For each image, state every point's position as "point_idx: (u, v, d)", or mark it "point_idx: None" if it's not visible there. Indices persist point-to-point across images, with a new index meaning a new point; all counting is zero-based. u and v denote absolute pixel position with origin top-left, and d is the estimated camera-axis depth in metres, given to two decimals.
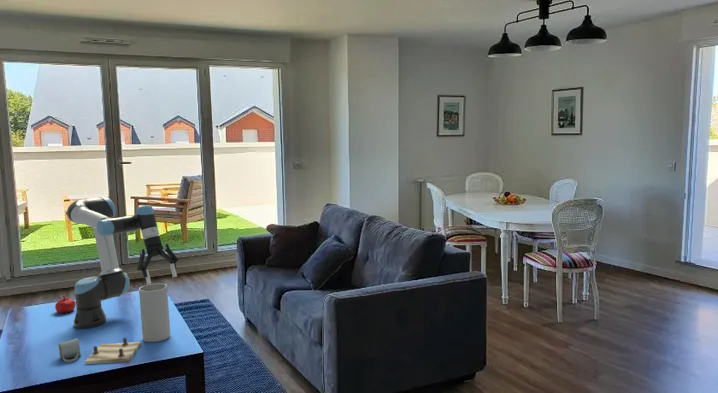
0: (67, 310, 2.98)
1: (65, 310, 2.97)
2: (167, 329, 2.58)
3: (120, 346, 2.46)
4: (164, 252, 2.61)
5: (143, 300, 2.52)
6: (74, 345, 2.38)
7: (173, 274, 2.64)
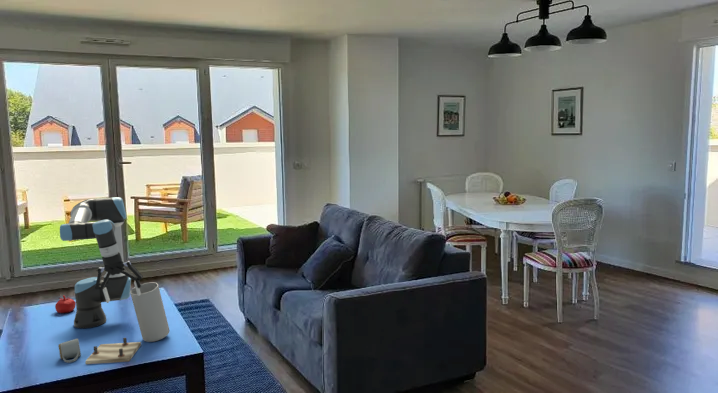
0: (67, 310, 2.98)
1: (65, 310, 2.97)
2: (165, 327, 2.57)
3: (120, 346, 2.46)
4: (123, 271, 2.41)
5: (136, 303, 2.49)
6: (74, 346, 2.38)
7: None
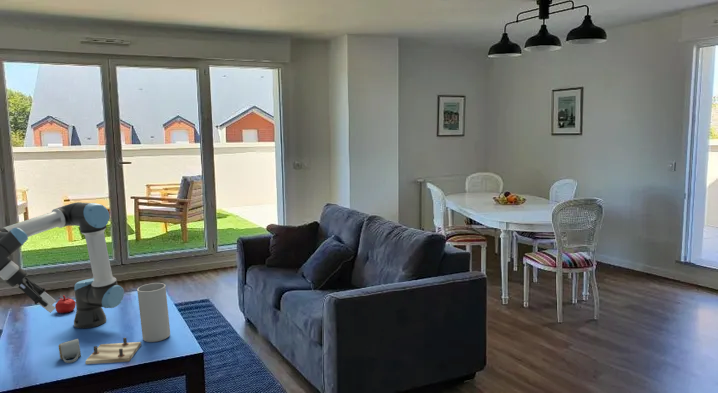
0: (67, 310, 2.98)
1: (65, 310, 2.97)
2: (167, 328, 2.58)
3: (120, 346, 2.46)
4: None
5: (142, 301, 2.52)
6: (74, 346, 2.37)
7: None
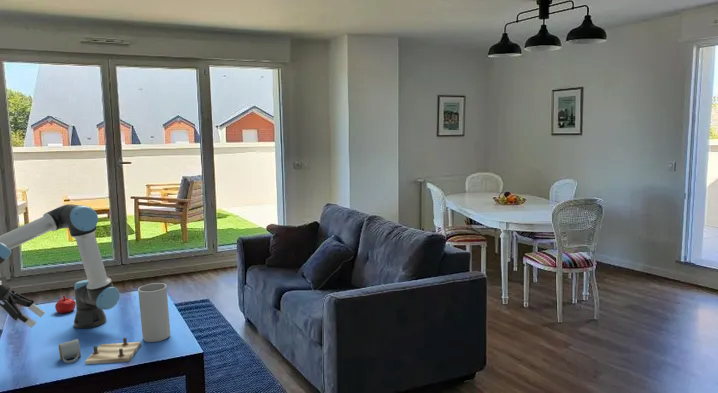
0: (67, 310, 2.98)
1: (65, 310, 2.97)
2: (167, 329, 2.58)
3: (120, 346, 2.46)
4: None
5: (143, 300, 2.52)
6: (74, 346, 2.37)
7: None
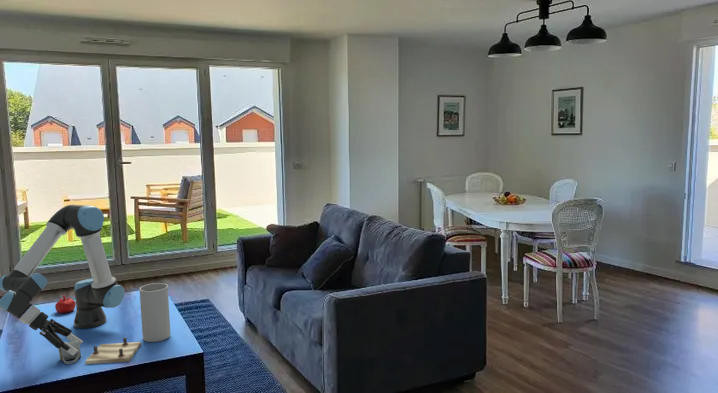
0: (67, 310, 2.98)
1: (65, 310, 2.97)
2: (168, 329, 2.59)
3: (120, 346, 2.46)
4: None
5: (144, 300, 2.52)
6: (74, 347, 2.36)
7: None
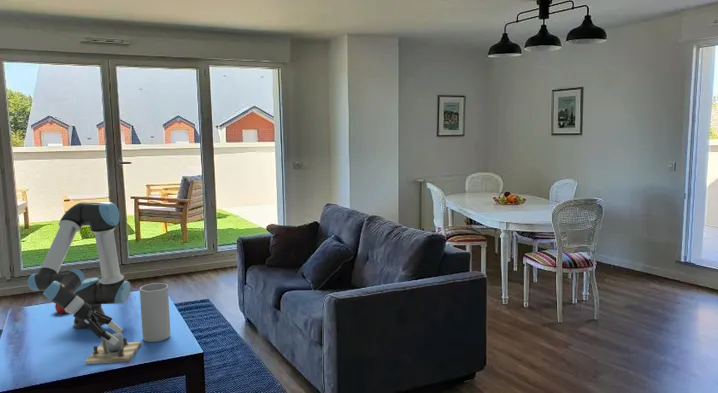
0: None
1: None
2: (168, 328, 2.59)
3: None
4: None
5: (145, 300, 2.52)
6: None
7: None
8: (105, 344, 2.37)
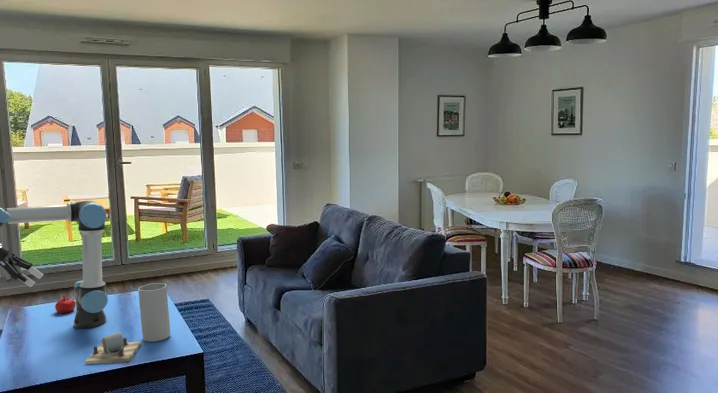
0: (67, 310, 2.98)
1: (65, 310, 2.97)
2: (168, 328, 2.59)
3: None
4: None
5: (144, 300, 2.52)
6: (117, 339, 2.40)
7: None
8: (105, 344, 2.37)
